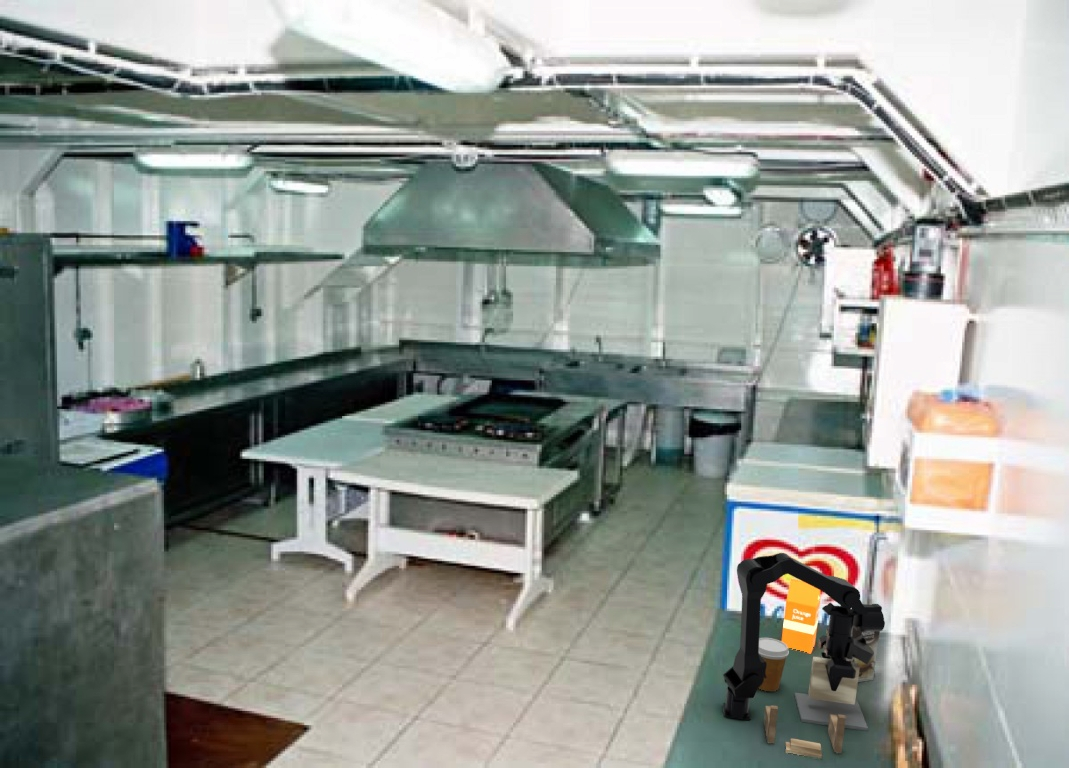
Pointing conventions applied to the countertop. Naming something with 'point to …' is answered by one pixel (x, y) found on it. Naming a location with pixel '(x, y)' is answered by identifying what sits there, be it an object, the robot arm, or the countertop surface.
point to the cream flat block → (821, 684)
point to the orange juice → (801, 616)
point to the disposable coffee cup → (773, 661)
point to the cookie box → (868, 669)
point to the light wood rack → (834, 727)
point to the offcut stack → (803, 748)
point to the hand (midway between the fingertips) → (832, 687)
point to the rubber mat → (829, 712)
